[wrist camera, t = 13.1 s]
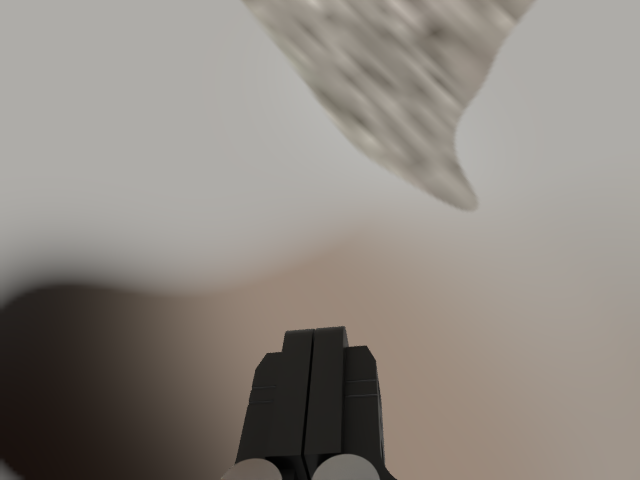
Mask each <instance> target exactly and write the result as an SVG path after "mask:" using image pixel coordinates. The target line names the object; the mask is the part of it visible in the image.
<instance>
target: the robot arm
mask: <svg viewBox="0 0 640 480" xmlns="http://www.w3.org/2000/svg"><path fill="white" fill-rule="evenodd" d="M220 480H397V479H395V478H394V477H393V476H392V475H391V474H390V473H389V471H388V470H387V469H386V467H385V455H384V438H383V423H382V406H381V395H380V388H379V381H378V374H377V366H376V360H375V359H374V357H373V355H372V354H371V352H370V351H369V349H368V347H367V346H354V347H349V346H348V340H347V334H346V330H345V327H344V326H341V327H329V328H317V329H316V330H315V329H305V330H294V331H286V333H285V336H284V343H283V349H282V352H276V353H267V354H266V355H265V357H264V358H263V360H262V361H261V362H260V364H259V365H258V367H257V368H256V370H255V375H254V379H253V384H252V390H251V393H250V398H249V405H248V407H247V412H246V417H245V421H244V426H243V430H242V435H241V440H240V445H239V449H238V453H237V458H236V462H235V464H234V466H233V467H231V468H230V469H229V470H228V471H227V472H226V473H225V474H224V475H223V476H222V478H221V479H220Z"/></svg>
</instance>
